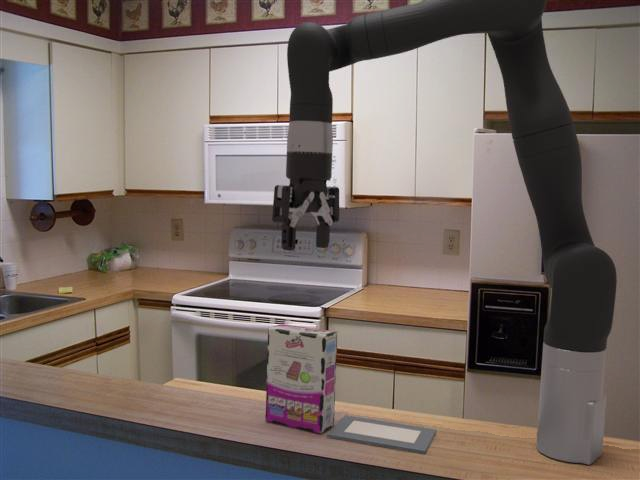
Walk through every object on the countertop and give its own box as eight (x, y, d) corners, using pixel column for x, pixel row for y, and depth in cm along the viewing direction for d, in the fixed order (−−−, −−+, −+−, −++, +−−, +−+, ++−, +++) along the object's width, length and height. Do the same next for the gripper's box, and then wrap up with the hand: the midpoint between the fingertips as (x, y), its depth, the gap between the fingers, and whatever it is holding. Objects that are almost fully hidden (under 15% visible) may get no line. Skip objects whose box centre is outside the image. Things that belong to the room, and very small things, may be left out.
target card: (436, 432, 114) (436, 428, 114) (425, 454, 105) (425, 450, 104) (345, 417, 119) (345, 414, 119) (326, 437, 110) (327, 433, 110)
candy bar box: (335, 426, 115) (339, 330, 114) (321, 435, 111) (325, 336, 109) (278, 413, 120) (282, 322, 119) (263, 421, 116) (266, 327, 114)
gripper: (298, 148, 104) (294, 253, 105) (353, 153, 115) (349, 248, 116) (262, 148, 108) (259, 249, 110) (319, 153, 119) (316, 244, 121)
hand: (305, 248), depth 113 cm, fingers open, 8 cm apart
